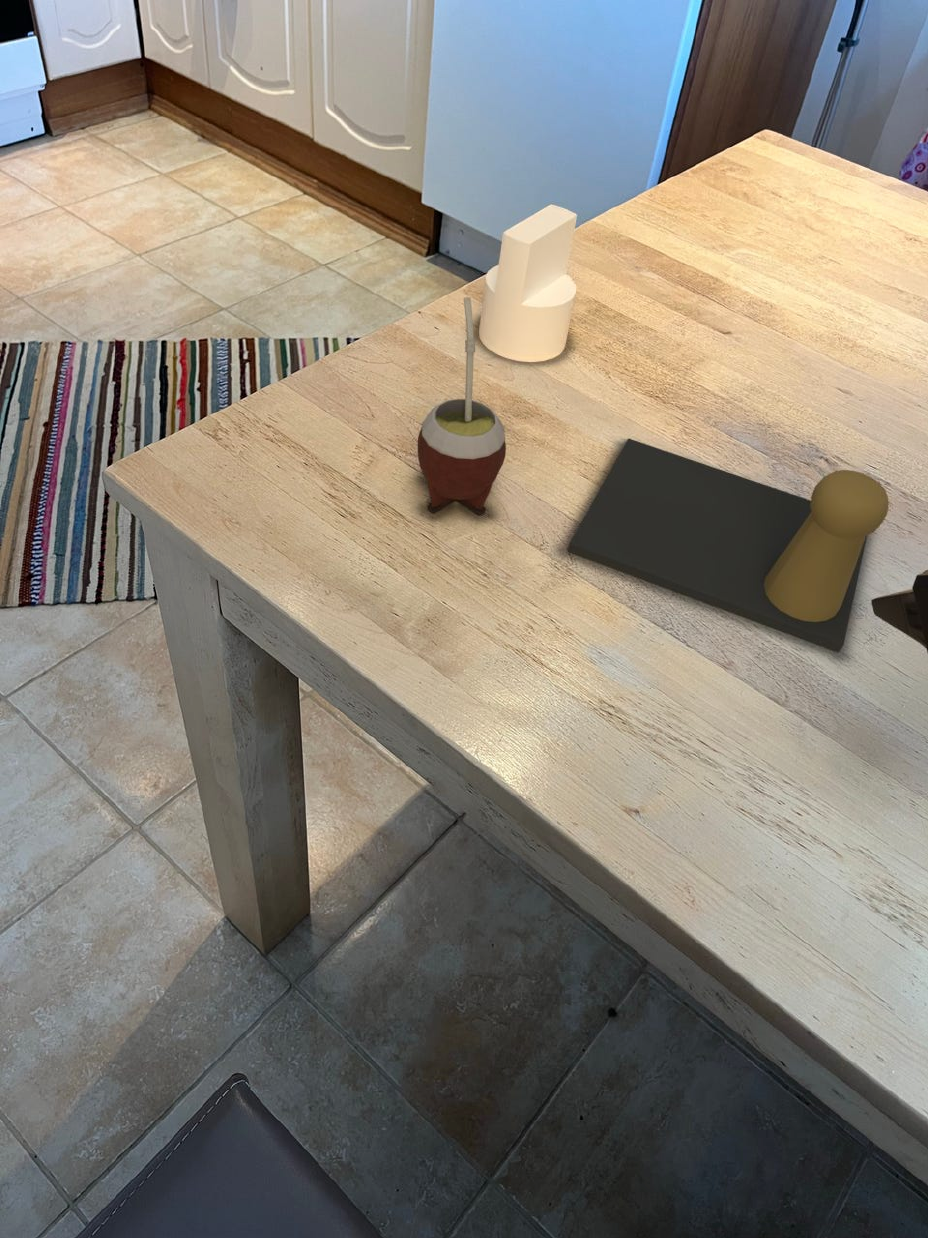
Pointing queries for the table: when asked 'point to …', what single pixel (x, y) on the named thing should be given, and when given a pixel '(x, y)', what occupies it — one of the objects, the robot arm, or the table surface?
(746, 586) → the mat
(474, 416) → the mate gourd
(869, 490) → the mustard peg figure
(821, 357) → the table surface
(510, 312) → the base with upright slab
